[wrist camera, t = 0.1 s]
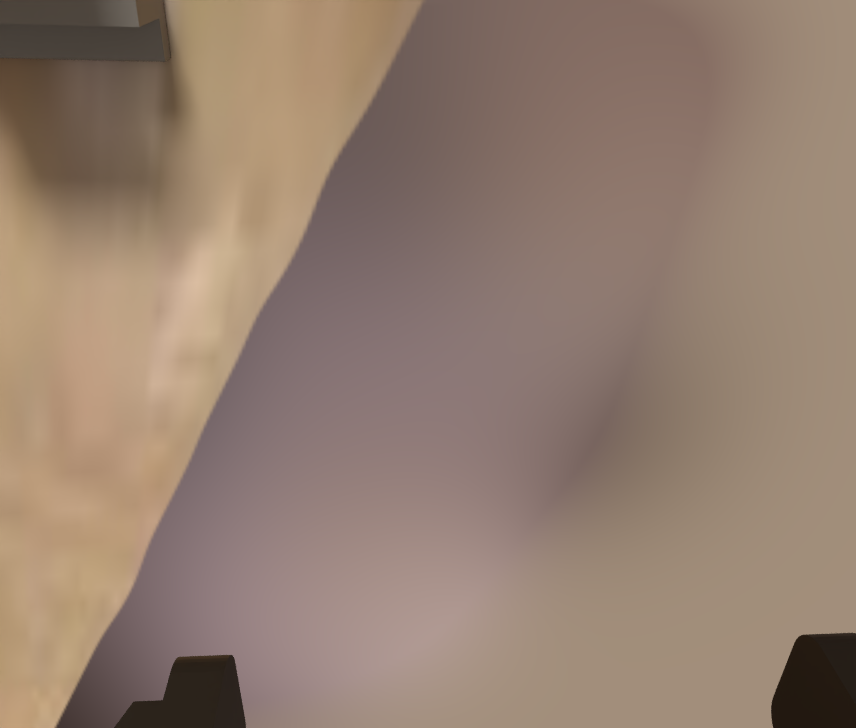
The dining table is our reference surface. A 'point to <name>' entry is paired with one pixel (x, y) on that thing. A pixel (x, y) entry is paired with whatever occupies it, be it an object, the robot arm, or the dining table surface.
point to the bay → (84, 30)
